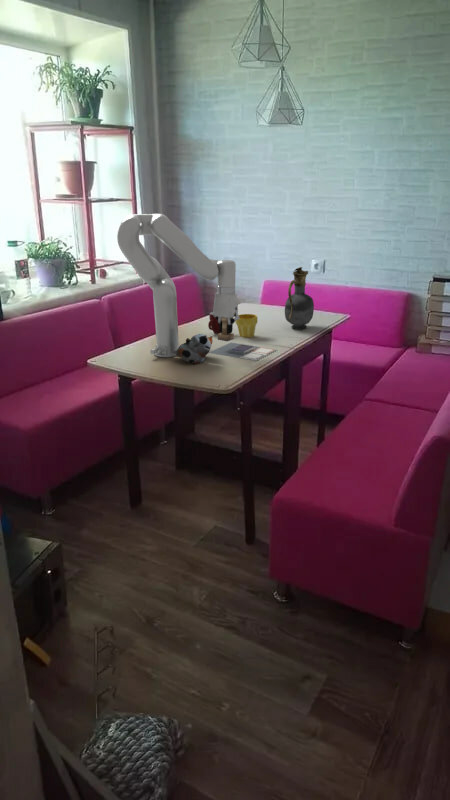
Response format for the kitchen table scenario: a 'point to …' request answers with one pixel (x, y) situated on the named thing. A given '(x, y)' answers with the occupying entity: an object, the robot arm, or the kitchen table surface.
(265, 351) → the paper sheet
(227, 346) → the desk mat
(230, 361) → the kitchen table surface
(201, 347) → the lucky cat figurine
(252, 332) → the plant pot
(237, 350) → the ink pad
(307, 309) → the pitcher
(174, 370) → the kitchen table surface
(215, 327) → the mug
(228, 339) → the stamp
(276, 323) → the kitchen table surface
